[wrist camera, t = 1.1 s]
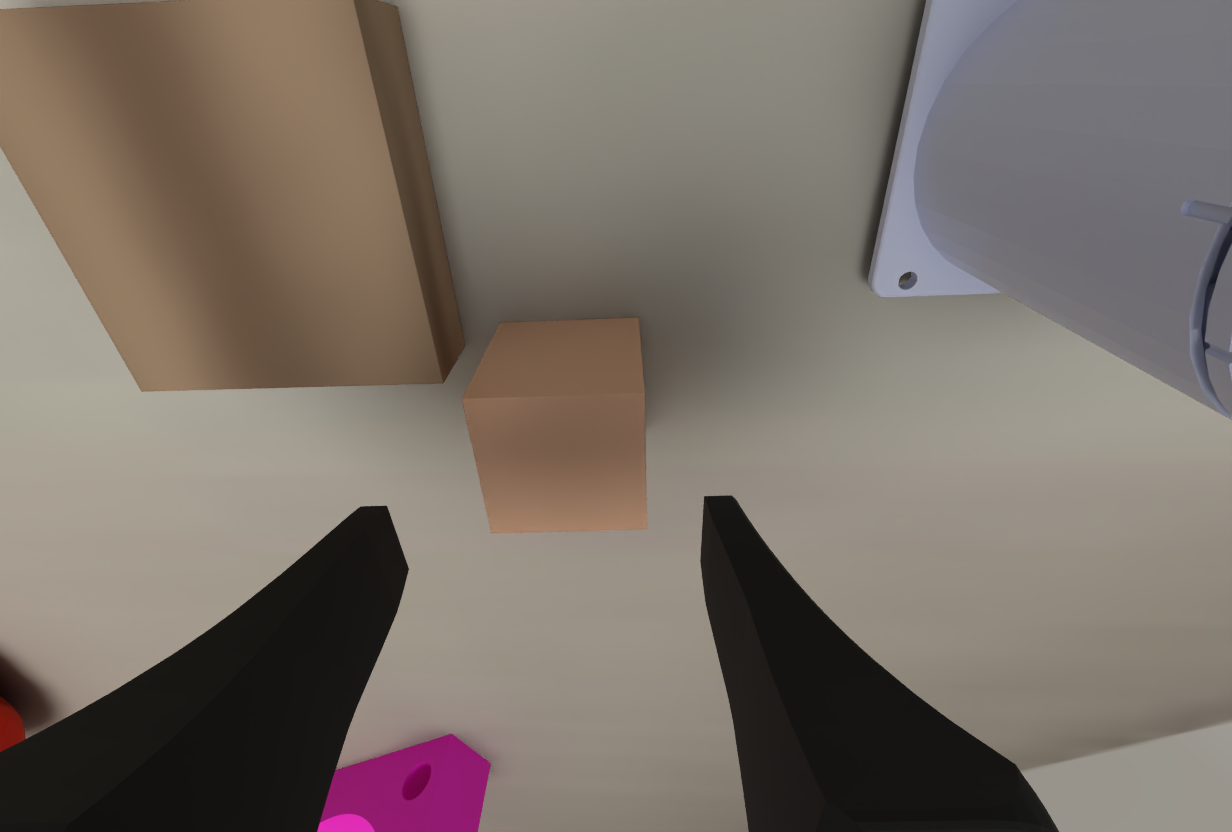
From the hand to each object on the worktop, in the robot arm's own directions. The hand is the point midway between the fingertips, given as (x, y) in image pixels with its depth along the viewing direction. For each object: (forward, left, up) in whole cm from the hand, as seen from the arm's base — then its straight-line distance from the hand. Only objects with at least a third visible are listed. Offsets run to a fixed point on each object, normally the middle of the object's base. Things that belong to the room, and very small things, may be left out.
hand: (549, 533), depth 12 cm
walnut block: (+8, -6, -8) cm, 13 cm away
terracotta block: (0, 0, -7) cm, 7 cm away
